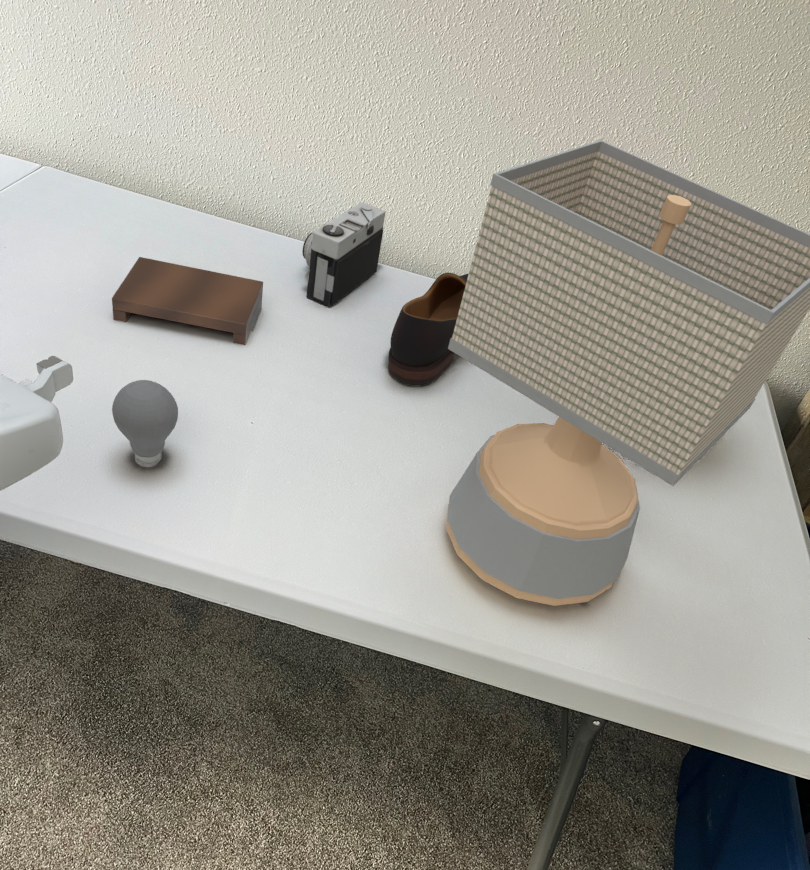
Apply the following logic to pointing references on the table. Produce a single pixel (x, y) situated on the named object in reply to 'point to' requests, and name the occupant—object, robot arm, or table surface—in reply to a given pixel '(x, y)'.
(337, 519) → the table surface
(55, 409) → the robot arm
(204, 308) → the shelf
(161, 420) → the light bulb
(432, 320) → the loafer
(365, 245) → the camera
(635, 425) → the desk lamp
